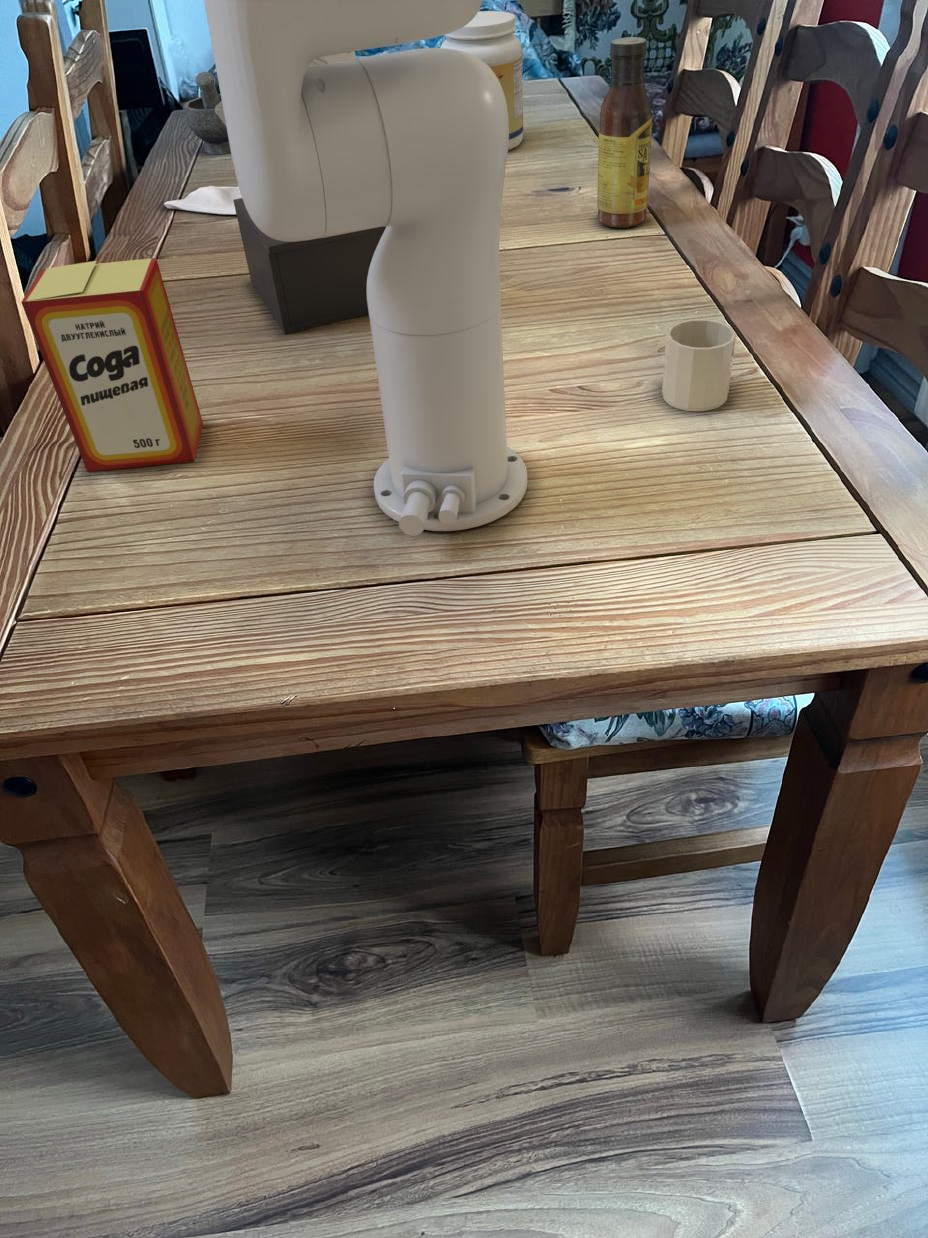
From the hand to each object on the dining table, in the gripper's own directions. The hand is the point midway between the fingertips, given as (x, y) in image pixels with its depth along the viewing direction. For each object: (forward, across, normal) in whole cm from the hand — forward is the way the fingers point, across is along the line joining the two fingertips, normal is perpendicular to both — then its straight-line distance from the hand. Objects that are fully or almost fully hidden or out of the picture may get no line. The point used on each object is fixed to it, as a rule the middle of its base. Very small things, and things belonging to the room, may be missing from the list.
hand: (318, 183), depth 97 cm
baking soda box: (+14, -24, -18) cm, 33 cm away
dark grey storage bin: (+14, 0, +6) cm, 15 cm away
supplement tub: (+15, +38, +47) cm, 62 cm away
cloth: (+14, 0, +43) cm, 45 cm away
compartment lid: (+5, 0, +5) cm, 7 cm away
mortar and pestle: (+15, +2, +70) cm, 72 cm away
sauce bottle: (+14, +40, +7) cm, 43 cm away
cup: (+13, +24, -34) cm, 44 cm away
